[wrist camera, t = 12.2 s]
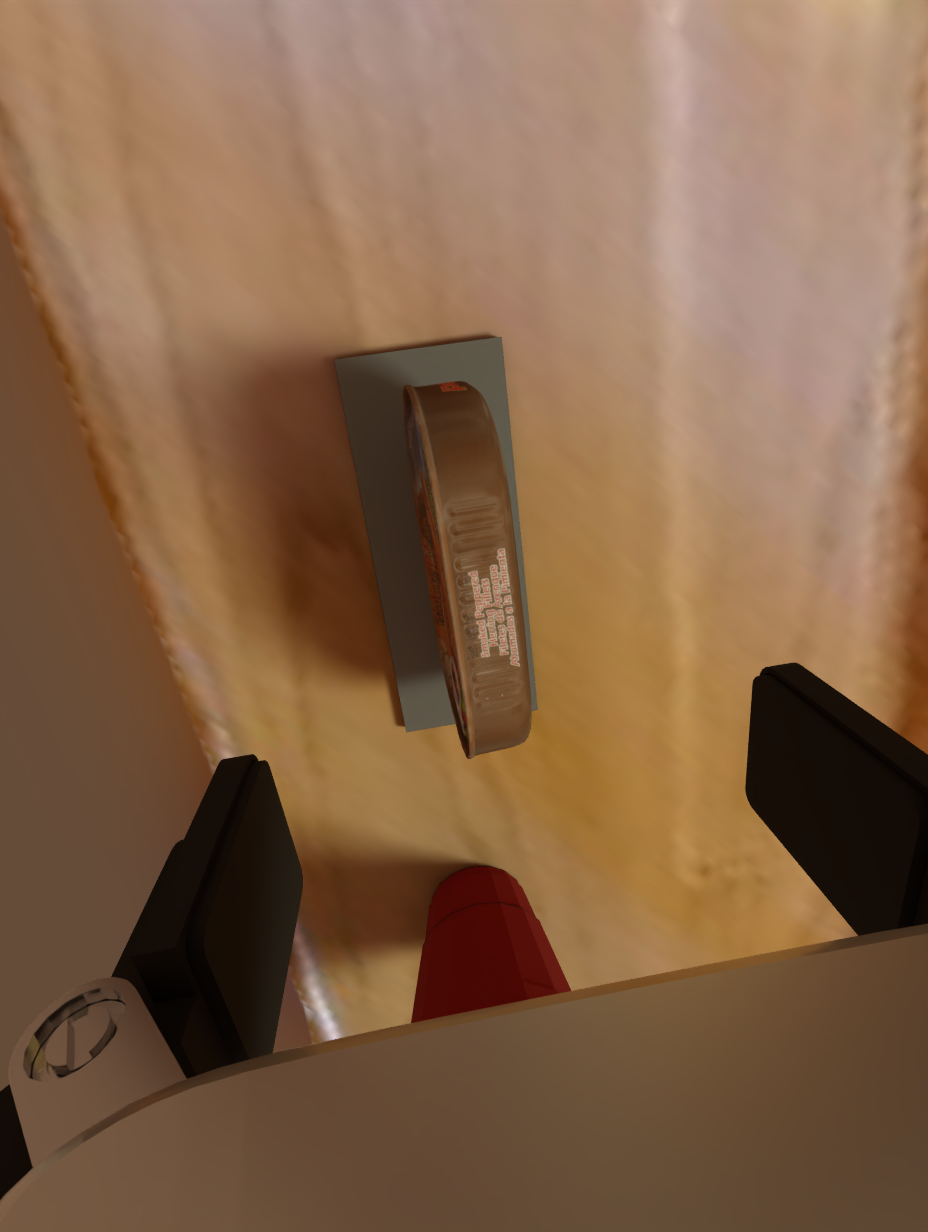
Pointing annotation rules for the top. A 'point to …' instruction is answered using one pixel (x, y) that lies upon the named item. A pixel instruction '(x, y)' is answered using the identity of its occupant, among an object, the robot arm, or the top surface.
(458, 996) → the plastic cup
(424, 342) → the top surface
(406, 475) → the mat
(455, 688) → the tin
